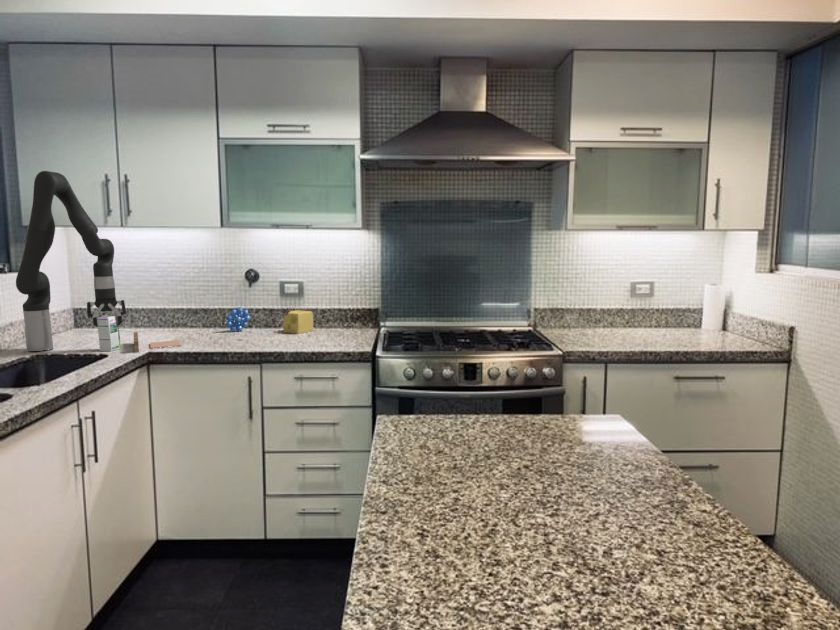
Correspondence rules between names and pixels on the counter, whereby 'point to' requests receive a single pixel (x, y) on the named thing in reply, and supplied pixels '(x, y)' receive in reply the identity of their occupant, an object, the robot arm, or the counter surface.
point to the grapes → (238, 319)
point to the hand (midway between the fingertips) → (108, 325)
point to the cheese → (298, 322)
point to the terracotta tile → (165, 344)
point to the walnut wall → (136, 342)
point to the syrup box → (108, 333)
